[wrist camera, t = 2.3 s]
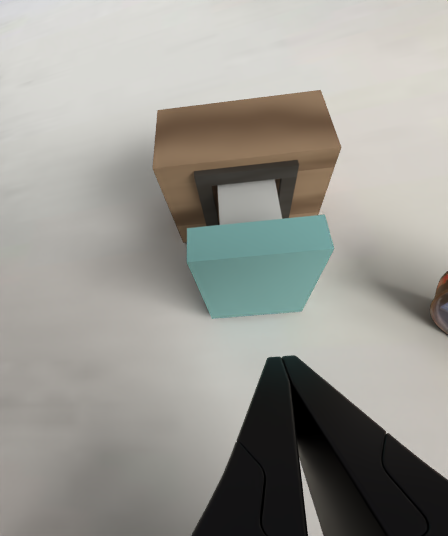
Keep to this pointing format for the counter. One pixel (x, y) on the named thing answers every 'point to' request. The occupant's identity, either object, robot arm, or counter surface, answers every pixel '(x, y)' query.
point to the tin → (441, 304)
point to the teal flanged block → (257, 254)
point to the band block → (245, 154)
